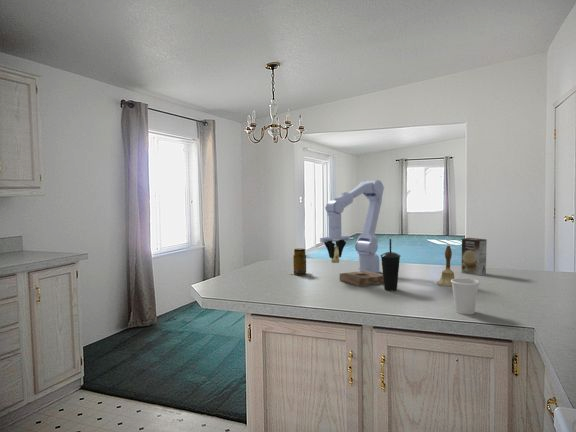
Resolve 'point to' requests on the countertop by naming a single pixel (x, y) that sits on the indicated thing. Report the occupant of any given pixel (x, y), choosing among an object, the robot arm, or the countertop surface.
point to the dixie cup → (465, 295)
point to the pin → (335, 255)
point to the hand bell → (447, 270)
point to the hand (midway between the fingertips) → (335, 257)
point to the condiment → (299, 262)
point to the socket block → (361, 278)
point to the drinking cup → (390, 269)
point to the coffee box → (474, 256)
